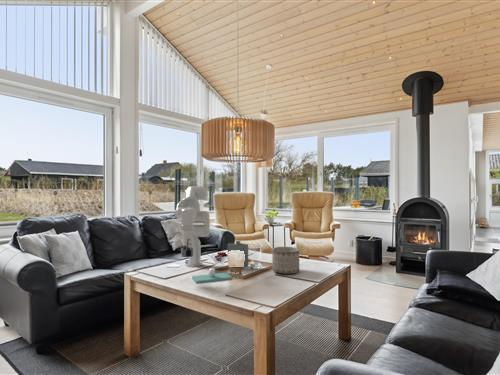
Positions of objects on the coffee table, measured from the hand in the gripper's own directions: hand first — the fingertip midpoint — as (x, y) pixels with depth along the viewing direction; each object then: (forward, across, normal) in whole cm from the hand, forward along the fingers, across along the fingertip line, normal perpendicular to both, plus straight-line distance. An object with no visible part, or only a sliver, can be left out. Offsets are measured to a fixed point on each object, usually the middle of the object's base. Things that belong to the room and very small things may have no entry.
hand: (187, 254), depth 211 cm
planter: (+18, +3, +71) cm, 73 cm away
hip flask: (+18, -23, +43) cm, 52 cm away
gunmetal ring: (+1, 0, 0) cm, 1 cm away
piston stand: (+18, 0, +16) cm, 24 cm away
